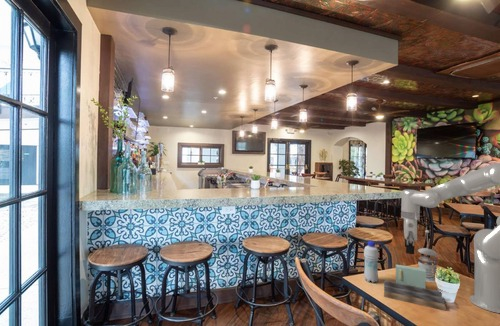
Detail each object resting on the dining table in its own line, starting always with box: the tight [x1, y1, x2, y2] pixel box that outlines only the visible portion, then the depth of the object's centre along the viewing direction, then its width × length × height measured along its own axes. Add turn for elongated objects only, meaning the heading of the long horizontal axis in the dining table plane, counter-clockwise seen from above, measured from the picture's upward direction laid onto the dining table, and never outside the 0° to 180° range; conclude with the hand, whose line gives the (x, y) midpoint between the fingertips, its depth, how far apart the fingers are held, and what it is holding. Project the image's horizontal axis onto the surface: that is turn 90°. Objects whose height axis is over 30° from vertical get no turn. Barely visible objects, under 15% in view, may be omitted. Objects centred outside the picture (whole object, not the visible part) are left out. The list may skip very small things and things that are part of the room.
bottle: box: [363, 240, 379, 284], centre depth 127 cm, size 7×7×20 cm
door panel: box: [395, 264, 427, 289], centre depth 122 cm, size 12×4×9 cm, turn 61°
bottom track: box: [383, 279, 447, 311], centre depth 112 cm, size 22×12×4 cm, turn 61°
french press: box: [417, 229, 439, 284], centre depth 131 cm, size 10×12×25 cm
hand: (409, 250), depth 122 cm, fingers open, 9 cm apart
